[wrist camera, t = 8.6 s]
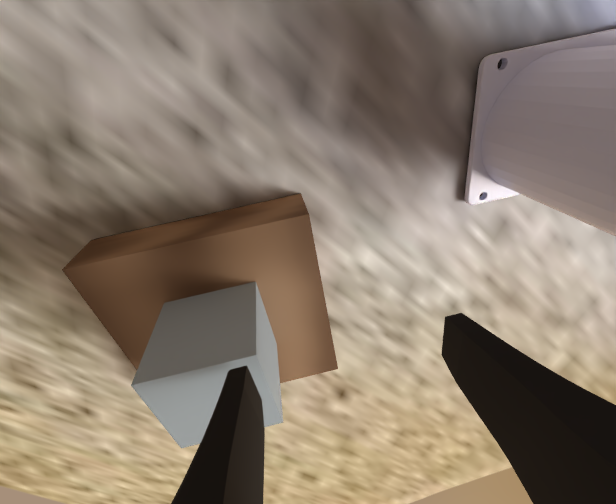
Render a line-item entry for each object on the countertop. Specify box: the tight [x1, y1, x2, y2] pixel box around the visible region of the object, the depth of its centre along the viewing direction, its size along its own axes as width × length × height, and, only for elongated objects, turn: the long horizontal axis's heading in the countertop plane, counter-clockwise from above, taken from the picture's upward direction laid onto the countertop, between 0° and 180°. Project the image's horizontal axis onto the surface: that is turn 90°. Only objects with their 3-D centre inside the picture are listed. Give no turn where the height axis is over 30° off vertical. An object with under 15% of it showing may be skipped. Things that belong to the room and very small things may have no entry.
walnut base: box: [62, 194, 338, 383], centre depth 19 cm, size 12×12×3 cm
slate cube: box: [131, 282, 283, 448], centre depth 15 cm, size 5×5×5 cm
